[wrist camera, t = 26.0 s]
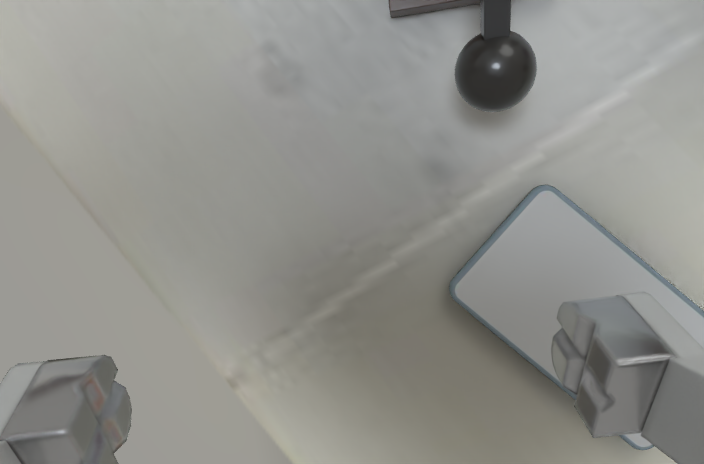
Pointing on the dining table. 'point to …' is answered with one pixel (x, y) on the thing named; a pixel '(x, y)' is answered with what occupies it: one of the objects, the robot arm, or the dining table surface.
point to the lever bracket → (424, 6)
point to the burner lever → (495, 62)
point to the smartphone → (556, 278)
